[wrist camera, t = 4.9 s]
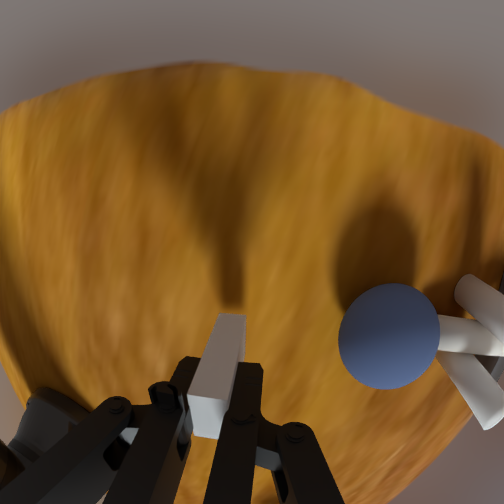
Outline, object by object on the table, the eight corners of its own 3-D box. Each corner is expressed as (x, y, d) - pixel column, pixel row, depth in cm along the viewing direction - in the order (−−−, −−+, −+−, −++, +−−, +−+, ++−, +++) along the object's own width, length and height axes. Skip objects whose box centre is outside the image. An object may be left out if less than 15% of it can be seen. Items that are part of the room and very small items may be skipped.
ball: (442, 378, 12) (377, 347, 18) (464, 286, 11) (387, 268, 17) (383, 426, 10) (313, 375, 15) (413, 314, 9) (319, 281, 14)
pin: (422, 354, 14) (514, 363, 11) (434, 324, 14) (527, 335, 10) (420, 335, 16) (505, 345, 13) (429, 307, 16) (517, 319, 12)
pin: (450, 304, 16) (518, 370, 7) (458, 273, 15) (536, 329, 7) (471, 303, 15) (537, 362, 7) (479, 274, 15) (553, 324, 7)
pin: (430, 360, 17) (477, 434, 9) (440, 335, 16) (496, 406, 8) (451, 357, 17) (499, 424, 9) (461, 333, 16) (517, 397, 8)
